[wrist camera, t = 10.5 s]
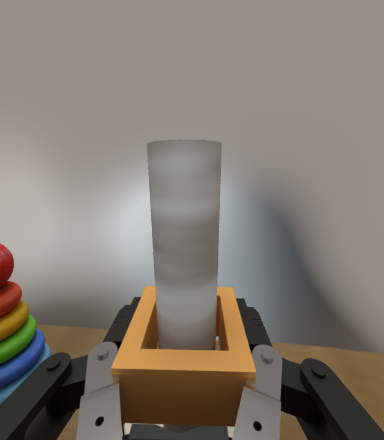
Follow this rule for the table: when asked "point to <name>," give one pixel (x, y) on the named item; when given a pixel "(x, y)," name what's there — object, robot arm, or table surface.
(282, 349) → the table surface
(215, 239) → the post stand
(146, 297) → the collar
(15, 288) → the stacking toy
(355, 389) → the table surface
